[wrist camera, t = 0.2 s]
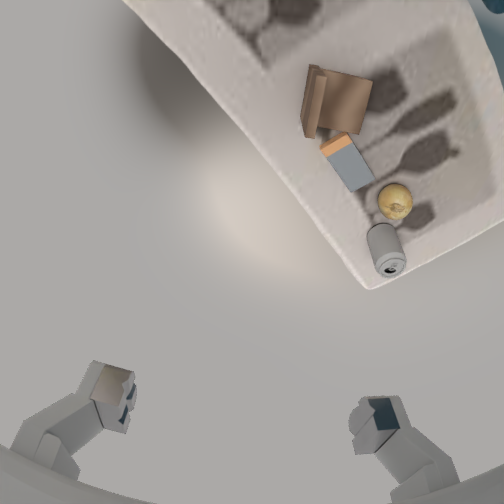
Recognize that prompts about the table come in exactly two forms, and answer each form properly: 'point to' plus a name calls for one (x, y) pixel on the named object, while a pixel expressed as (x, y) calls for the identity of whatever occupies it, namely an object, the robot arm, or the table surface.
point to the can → (386, 251)
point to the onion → (395, 201)
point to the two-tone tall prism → (347, 161)
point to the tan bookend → (334, 101)
